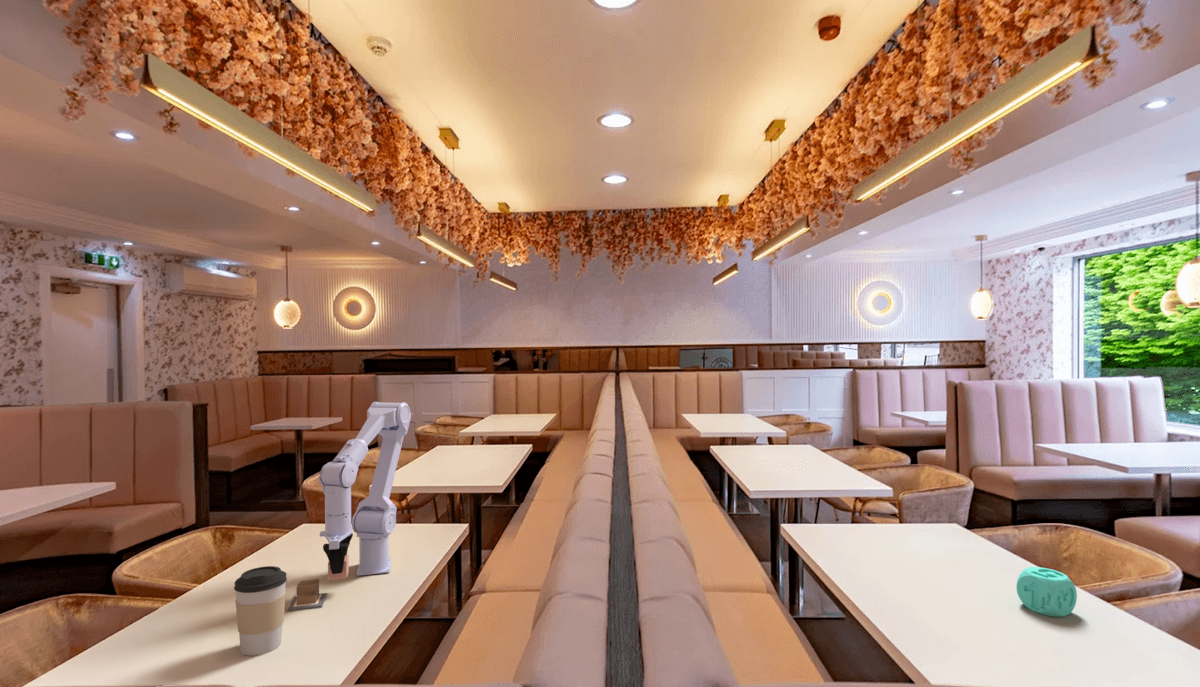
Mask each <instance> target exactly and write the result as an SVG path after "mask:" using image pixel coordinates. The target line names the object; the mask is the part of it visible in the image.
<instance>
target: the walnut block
mask: <svg viewBox="0 0 1200 687" xmlns="http://www.w3.org/2000/svg"><path fill="white" fill-rule="evenodd" d="M319 594H320V578H312V579H305V580H303V579H302V580H299V582H298V584H297V586H296V596H297V605H303V604H312V603H316V602H317V600H318V597H319Z"/></svg>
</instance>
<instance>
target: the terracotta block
mask: <svg viewBox="0 0 1200 687" xmlns="http://www.w3.org/2000/svg"><path fill="white" fill-rule="evenodd" d="M349 560H350V558H349V555H348V554H347V555H345V559H344V566H343V570H342V573H338V574H332V571H331V568H330V563H329V561H328V562H327V580H328V581H330V580H340V579H347V578H348V575H349V570H350V569H349V567H350V566H349V563H350V562H349Z"/></svg>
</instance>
